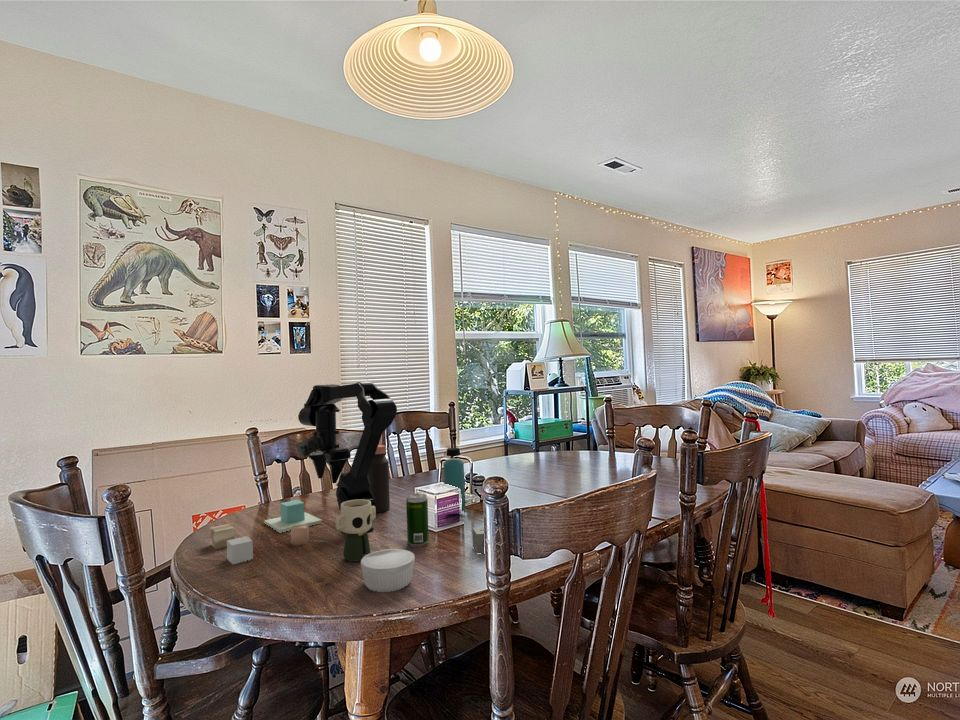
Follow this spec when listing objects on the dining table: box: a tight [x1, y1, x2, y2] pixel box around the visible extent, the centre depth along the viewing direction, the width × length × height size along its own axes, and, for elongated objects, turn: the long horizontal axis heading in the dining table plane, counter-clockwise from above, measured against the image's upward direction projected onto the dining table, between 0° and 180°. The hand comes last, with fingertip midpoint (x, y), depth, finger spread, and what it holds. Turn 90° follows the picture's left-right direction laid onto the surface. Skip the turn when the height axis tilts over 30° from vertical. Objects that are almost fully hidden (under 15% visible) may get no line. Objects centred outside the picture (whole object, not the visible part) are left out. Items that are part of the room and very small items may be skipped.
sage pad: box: [263, 511, 323, 534], centre depth 147 cm, size 12×12×1 cm
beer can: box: [405, 492, 429, 547], centre depth 128 cm, size 5×5×12 cm
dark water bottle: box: [368, 444, 391, 513], centre depth 160 cm, size 7×7×20 cm
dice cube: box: [471, 526, 485, 555], centre depth 122 cm, size 5×5×5 cm
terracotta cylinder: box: [290, 524, 310, 546], centre depth 131 cm, size 4×4×4 cm
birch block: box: [209, 523, 235, 550], centre depth 131 cm, size 4×4×4 cm
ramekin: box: [360, 548, 416, 593], centre depth 105 cm, size 11×11×5 cm
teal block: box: [280, 499, 305, 524], centre depth 147 cm, size 5×5×5 cm
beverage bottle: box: [442, 447, 467, 512], centre depth 152 cm, size 6×7×20 cm
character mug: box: [335, 499, 377, 562], centre depth 119 cm, size 11×7×13 cm, turn 138°
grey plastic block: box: [226, 535, 254, 565], centre depth 121 cm, size 4×4×4 cm
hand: (327, 480), depth 148 cm, fingers open, 9 cm apart
